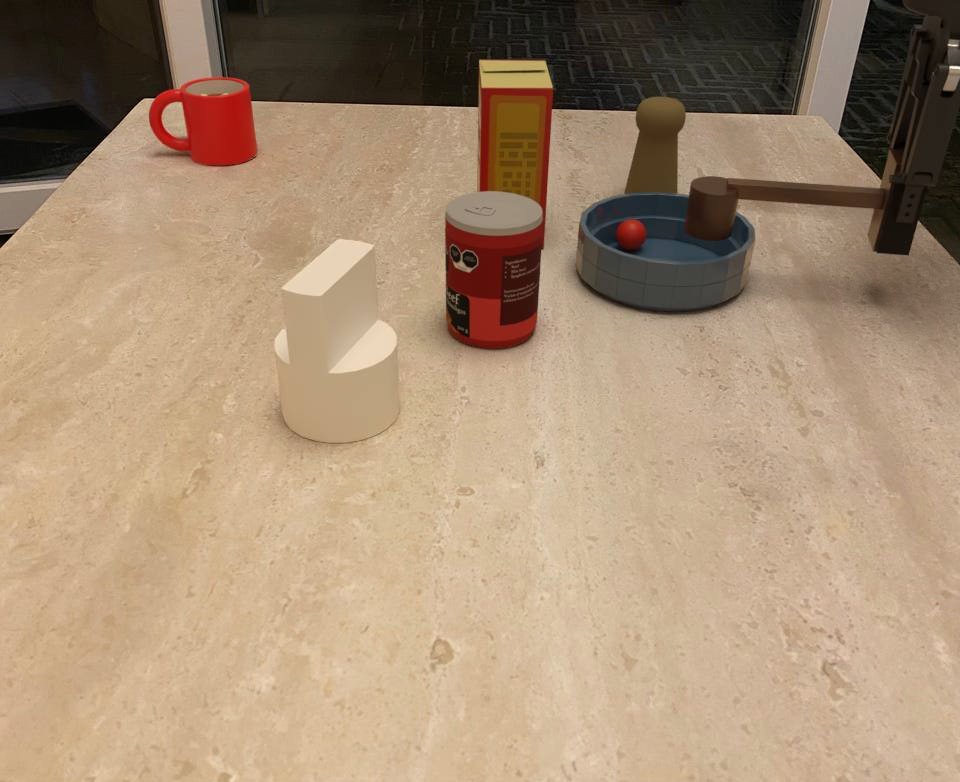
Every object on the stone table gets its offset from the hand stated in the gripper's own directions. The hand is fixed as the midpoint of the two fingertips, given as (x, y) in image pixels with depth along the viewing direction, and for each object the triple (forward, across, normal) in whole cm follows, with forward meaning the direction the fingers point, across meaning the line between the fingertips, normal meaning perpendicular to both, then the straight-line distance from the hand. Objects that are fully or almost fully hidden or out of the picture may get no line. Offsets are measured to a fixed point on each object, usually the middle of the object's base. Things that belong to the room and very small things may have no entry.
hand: (889, 241), depth 90 cm
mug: (+4, -20, -75) cm, 78 cm away
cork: (+5, -18, -22) cm, 29 cm away
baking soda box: (+5, -7, -36) cm, 37 cm away
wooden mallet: (0, 0, -8) cm, 8 cm away
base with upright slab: (+5, +29, -43) cm, 52 cm away
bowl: (+5, 0, -20) cm, 21 cm away
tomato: (+3, -4, -23) cm, 24 cm away
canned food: (+5, +14, -34) cm, 37 cm away
